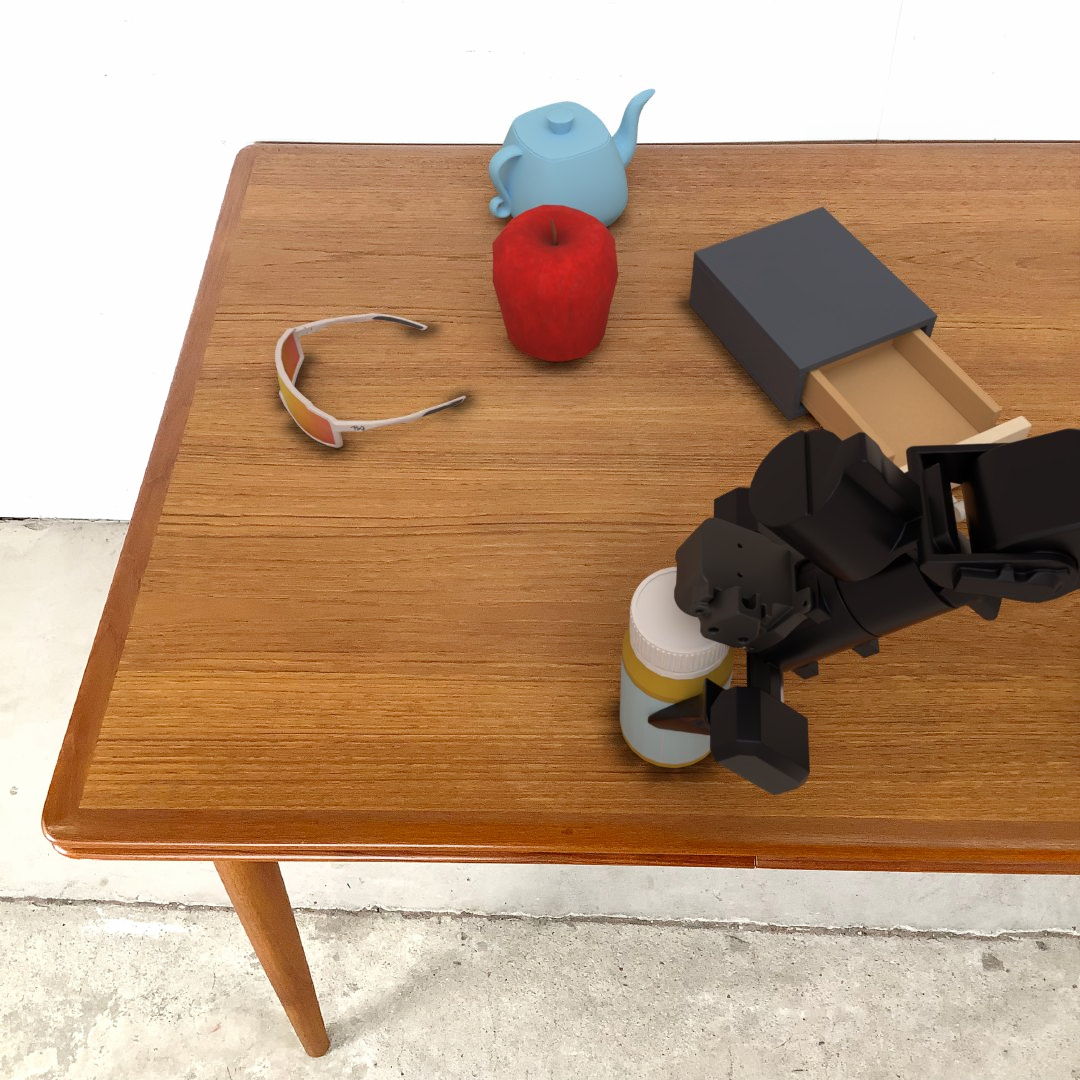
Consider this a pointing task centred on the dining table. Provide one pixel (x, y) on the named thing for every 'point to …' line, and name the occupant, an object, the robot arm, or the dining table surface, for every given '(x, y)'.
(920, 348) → the drawer
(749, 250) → the cabinet
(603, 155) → the teapot
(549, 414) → the dining table surface
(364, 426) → the sunglasses
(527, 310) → the apple
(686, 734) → the bottle
